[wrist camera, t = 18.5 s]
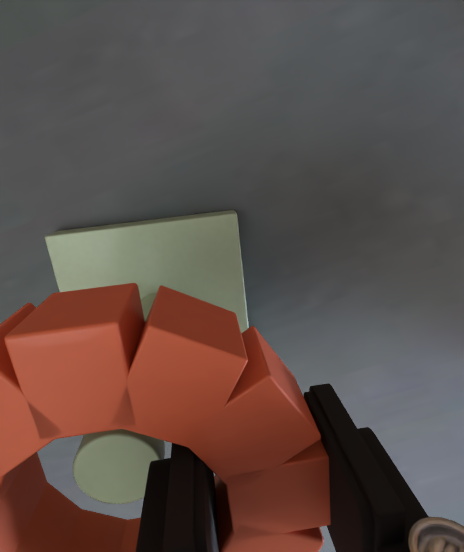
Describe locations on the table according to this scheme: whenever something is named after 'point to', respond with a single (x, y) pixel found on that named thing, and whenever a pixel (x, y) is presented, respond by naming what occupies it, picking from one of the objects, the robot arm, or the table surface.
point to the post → (146, 313)
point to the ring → (156, 417)
